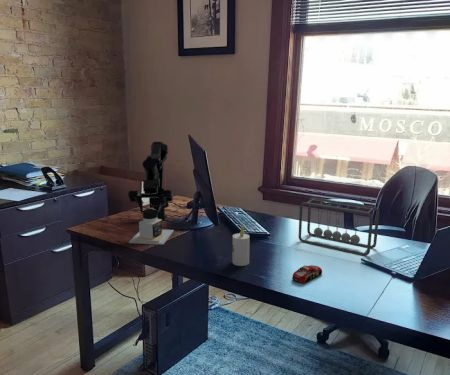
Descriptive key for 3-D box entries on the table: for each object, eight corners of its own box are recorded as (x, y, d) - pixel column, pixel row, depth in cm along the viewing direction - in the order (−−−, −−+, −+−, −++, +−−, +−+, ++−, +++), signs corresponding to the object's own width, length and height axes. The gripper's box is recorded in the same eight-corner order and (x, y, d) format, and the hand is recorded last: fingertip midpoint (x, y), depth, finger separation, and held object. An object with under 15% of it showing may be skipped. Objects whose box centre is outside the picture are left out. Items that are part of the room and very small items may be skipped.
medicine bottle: (153, 240, 170) (152, 213, 167) (139, 237, 173) (138, 210, 170) (162, 234, 176) (161, 208, 173) (149, 232, 179) (147, 206, 176)
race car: (312, 269, 146) (312, 259, 145) (324, 274, 142) (325, 263, 141) (289, 280, 137) (289, 269, 136) (302, 286, 133) (302, 274, 132)
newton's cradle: (297, 241, 172) (299, 201, 168) (307, 234, 181) (309, 196, 176) (369, 257, 156) (373, 213, 152) (376, 248, 164) (380, 207, 160)
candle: (229, 260, 153) (229, 223, 149) (245, 258, 155) (245, 221, 151) (235, 267, 147) (235, 228, 143) (251, 264, 149) (252, 226, 146)
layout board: (142, 229, 187) (142, 226, 186) (173, 231, 185) (173, 228, 184) (128, 243, 170) (128, 239, 170) (163, 244, 168) (163, 241, 168)
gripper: (127, 172, 171) (123, 204, 163) (171, 171, 172) (169, 203, 164) (132, 185, 181) (128, 216, 173) (173, 185, 181) (172, 216, 173)
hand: (149, 213), depth 170 cm, fingers open, 6 cm apart
